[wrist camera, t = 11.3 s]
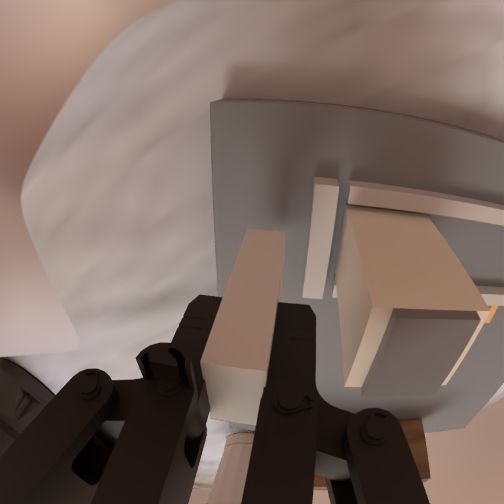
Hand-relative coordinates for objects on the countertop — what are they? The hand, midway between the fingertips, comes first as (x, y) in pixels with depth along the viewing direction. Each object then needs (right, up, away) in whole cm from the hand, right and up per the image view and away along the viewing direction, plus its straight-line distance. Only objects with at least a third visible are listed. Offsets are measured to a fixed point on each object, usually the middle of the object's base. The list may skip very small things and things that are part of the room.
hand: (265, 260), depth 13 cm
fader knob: (+6, +1, +1) cm, 6 cm away
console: (+10, -4, +6) cm, 12 cm away
